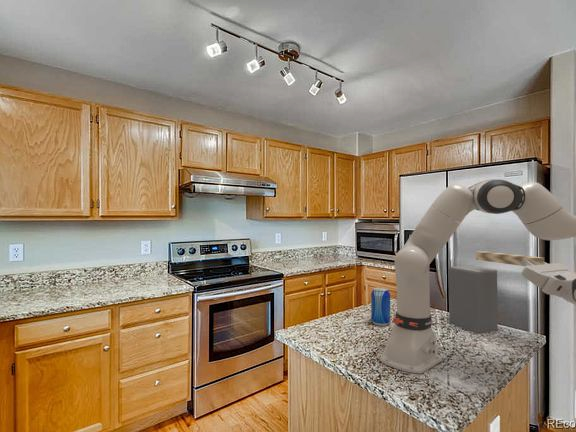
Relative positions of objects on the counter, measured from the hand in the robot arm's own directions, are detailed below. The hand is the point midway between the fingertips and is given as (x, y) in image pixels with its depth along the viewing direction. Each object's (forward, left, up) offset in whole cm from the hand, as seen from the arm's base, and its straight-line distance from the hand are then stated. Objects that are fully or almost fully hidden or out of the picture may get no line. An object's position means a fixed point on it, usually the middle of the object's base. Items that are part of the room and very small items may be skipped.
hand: (528, 259), depth 115 cm
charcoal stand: (+11, +20, -33) cm, 40 cm away
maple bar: (+4, +7, -2) cm, 8 cm away
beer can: (-12, +53, -33) cm, 64 cm away
